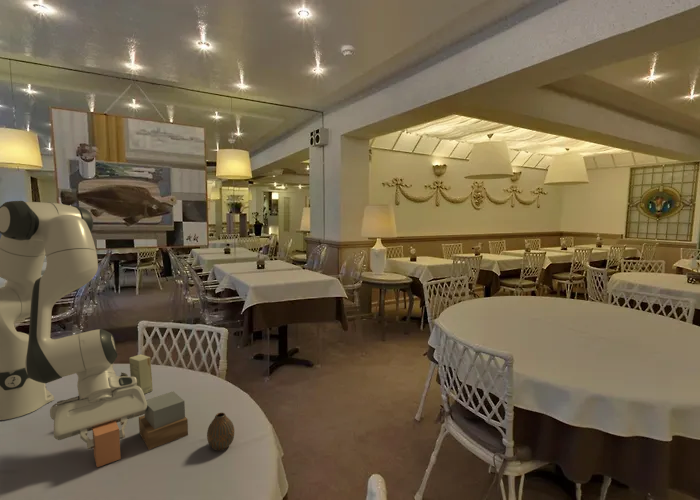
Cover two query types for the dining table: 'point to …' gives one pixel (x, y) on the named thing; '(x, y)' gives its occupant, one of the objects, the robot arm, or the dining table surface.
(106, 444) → the terracotta block
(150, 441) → the tower base block
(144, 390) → the skincare box
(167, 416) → the tower top block
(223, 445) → the vase
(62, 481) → the dining table surface
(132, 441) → the dining table surface
